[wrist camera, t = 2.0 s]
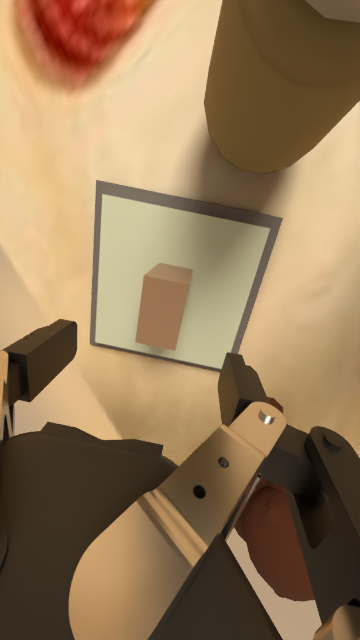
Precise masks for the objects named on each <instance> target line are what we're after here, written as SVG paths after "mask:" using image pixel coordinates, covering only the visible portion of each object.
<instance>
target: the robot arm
mask: <svg viewBox="0 0 360 640" xmlns="http://www.w3.org/2000/svg"><path fill="white" fill-rule="evenodd" d="M76 351H77V323H76V322H74V321H69V320H64V319H59V320H57V321H56V322H54V323H53V324H51V325H49V326H46V327H43V328H39V329H37V330H35V331H33V332H32V333H30V334H29V335H26V336H25V337H24V338H23V339H20V340H18V341H17V342H15V343H13V344H11V345H10V346H8V347H6V348H5V349H3V350H0V640H283V639H282V638H281V636H280V634H279V633H278V631H277V629H276V627H275V626H274V624H273V622H272V620H271V619H270V617H269V615H268V614H267V612H266V610H265V608H264V607H263V605H262V603H261V601H260V600H259V598H258V596H257V595H256V593H255V591H254V589H253V588H252V586H251V584H250V582H249V581H248V579H247V577H246V576H245V574H244V572H243V570H242V569H241V567H240V565H239V564H238V562H237V560H236V558H235V557H234V555H233V553H232V551H231V550H230V548H229V546H228V545H227V543H226V540H227V539H228V537H229V535H230V533H231V531H232V529H233V528H234V526H235V524H236V522H237V520H238V518H239V516H240V514H241V512H242V511H243V509H244V507H245V505H246V504H247V502H248V500H249V498H250V497H251V495H252V493H253V492H254V490H255V488H256V486H257V485H258V483H259V481H260V479H261V478H262V477H264V478H265V479H267V480H269V481H271V482H273V483H275V484H277V485H279V486H281V487H283V488H284V489H285V493H286V496H287V500H288V504H289V507H290V511H291V514H292V518H293V522H294V525H295V529H296V533H297V536H298V540H299V543H300V547H301V551H302V554H303V558H304V561H305V565H306V569H307V572H308V576H309V580H310V583H311V587H312V590H313V594H314V598H315V601H316V605H317V608H318V612H319V616H320V619H321V622H322V626H321V627H320V628H319V629H318V630H317V631H316V633H315V635H314V638H313V640H360V458H359V457H358V455H357V454H356V452H355V451H354V449H353V448H352V446H351V445H350V444H349V443H348V442H347V441H346V440H345V439H344V438H343V437H342V436H340V435H339V434H337V433H336V432H334V431H332V430H330V429H328V428H325V427H319V426H317V427H313V428H312V429H311V431H310V433H309V434H307V433H305V432H303V431H300V430H298V429H296V428H293V427H291V426H289V425H288V424H286V419H285V417H284V415H283V414H282V413H281V412H280V411H279V410H278V409H277V408H275V407H274V406H272V405H270V404H269V401H268V399H267V396H266V394H265V391H264V389H263V387H262V384H261V382H260V379H259V377H258V374H257V372H256V371H255V370H254V369H253V368H252V367H251V366H247V365H245V362H244V359H243V357H242V355H240V354H235V353H230V352H227V353H226V356H225V359H224V362H223V366H222V369H221V373H220V376H219V381H218V394H219V402H220V411H221V419H222V425H221V426H220V427H219V428H218V429H217V430H216V431H215V432H214V433H213V434H212V435H211V436H210V437H209V438H208V439H207V440H206V441H205V442H204V443H203V444H201V445H200V446H199V447H198V448H197V449H196V450H195V451H194V452H193V453H192V454H191V455H190V456H189V457H188V458H187V459H186V460H185V461H184V462H183V463H182V464H181V465H180V466H178V465H176V464H175V463H174V462H173V461H171V460H170V459H168V458H167V457H165V456H163V455H162V449H163V445H160V444H155V443H150V442H145V441H140V440H136V439H130V440H101V439H98V438H96V437H94V436H92V435H90V434H88V433H86V432H84V431H82V430H80V429H78V428H76V427H70V426H66V425H61V424H56V423H51V422H47V424H46V425H45V426H44V427H43V429H42V430H41V431H36V432H28V433H23V434H19V435H16V436H14V426H15V407H14V403H15V402H16V401H17V400H22V401H27V402H31V401H32V400H33V399H34V398H35V397H36V396H37V395H38V394H39V393H40V392H41V391H42V390H43V389H44V388H45V387H46V386H47V385H48V384H49V383H50V382H51V381H52V380H53V379H54V378H55V377H56V376H57V375H58V374H59V373H60V372H61V371H62V370H63V369H64V368H65V367H66V366H67V365H68V363H70V362H71V361H72V360H73V358H74V357H75V355H76Z"/></svg>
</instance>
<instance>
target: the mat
mask: <svg viewBox="0 0 360 640" xmlns="http://www.w3.org/2000/svg"><path fill="white" fill-rule="evenodd" d="M102 194H105V195H110V196H115V197H120V198H124V199H129V200H134V201H139V202H144V203H149V204H154V205H159V206H163V207H168V208H173V209H178V210H183V211H188V212H193V213H198V214H202V215H207V216H212V217H217V218H222V219H227V220H232V221H237V222H241V223H246V224H251V225H256V226H261V227H266V228H270V231H269V234H268V237H267V240H266V244H265V247H264V250H263V253H262V256H261V259H260V262H259V265H258V269H257V272H256V275H255V278H254V281H253V284H252V287H251V290H250V294H249V297H248V300H247V303H246V306H245V309H244V312H243V315H242V319H241V322H240V325H239V328H238V331H237V334H236V337H235V340H234V344H233V347H232V350H231V353H235V354H238V351H239V348H240V345H241V342H242V339H243V336H244V333H245V330H246V327H247V324H248V321H249V318H250V315H251V312H252V309H253V306H254V303H255V300H256V297H257V294H258V291H259V288H260V285H261V282H262V279H263V276H264V273H265V270H266V267H267V264H268V261H269V258H270V255H271V252H272V249H273V246H274V243H275V240H276V237H277V234H278V231H279V228H280V225H281V222H282V219H283V218H279V217H275V216H270V215H265V214H260V213H255V212H250V211H245V210H240V209H235V208H231V207H226V206H221V205H216V204H211V203H206V202H201V201H196V200H192V199H187V198H182V197H177V196H172V195H167V194H162V193H157V192H152V191H148V190H143V189H138V188H133V187H128V186H123V185H118V184H113V183H108V182H104V181H99V180H96V200H95V226H94V251H93V276H92V302H91V327H90V344H92V345H97V346H102V347H107V348H111V349H116V350H121V351H125V352H130V353H135V354H139V355H144V356H149V357H154V358H158V359H163V360H168V361H172V362H177V363H182V364H186V365H191V366H196V367H201V368H205V369H210V370H215V371H219V372H221V369H219V368H214V367H209V366H205V365H200V364H195V363H191V362H186V361H181V360H177V359H172V358H167V357H162V356H158V355H153V354H148V353H144V352H139V351H134V350H130V349H125V348H120V347H115V346H111V345H106V344H101V343H97V342H95V333H96V313H97V293H98V273H99V253H100V232H101V212H102Z"/></svg>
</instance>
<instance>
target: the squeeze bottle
mask: <svg viewBox="0 0 360 640" xmlns="http://www.w3.org/2000/svg"><path fill="white" fill-rule="evenodd" d="M359 101H360V0H223V1H222V6H221V11H220V16H219V21H218V26H217V31H216V36H215V41H214V46H213V51H212V56H211V61H210V66H209V72H208V79H207V86H206V92H205V99H204V106H205V112H206V119H207V125H208V131H209V134H210V136H211V138H212V139H213V141H214V143H215V145H216V146H217V148H218V150H219V152H220V153H221V155H222V156H223V157H224V158H225V159H227V160H228V161H230V162H231V163H232V164H234V165H235V166H237V167H238V168H239V169H241V170H244V171H250V172H257V173H263V174H266V173H269V172H273V171H276V170H280V169H283V168H286V167H290V166H291V165H292V164H294V163H295V162H296V161H298V160H299V159H300V158H301V157H303V156H304V155H305V154H307V153H308V152H309V151H311V150H312V149H313V148H314V147H315V146H316V145H317V144H318V143H319V142H320V141H321V140H322V139H323V138H324V137H325V136H326V135H327V134H328V133H329V132H330V131H331V130H332V129H333V127H334V126H335V125H336V124H337V123H338V122H339V121H340V120H341V119H342V118H343V117H344V116H345V115H346V114H347V113H348V112H349V111H350V110H351V109H352V108H353V107H354V106H355V105H356V104H357V103H358V102H359Z"/></svg>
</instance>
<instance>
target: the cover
mask: <svg viewBox="0 0 360 640" xmlns="http://www.w3.org/2000/svg"><path fill="white" fill-rule="evenodd" d="M269 231H270V228H266V227H261V226H256V225H251V224H246V223H241V222H237V221H232V220H227V219H222V218H217V217H212V216H207V215H202V214H198V213H193V212H188V211H183V210H178V209H173V208H168V207H163V206H159V205H154V204H149V203H144V202H139V201H134V200H129V199H124V198H120V197H115V196H110V195H105V194H102V212H101V232H100V253H99V273H98V293H97V313H96V333H95V342H97V343H101V344H106V345H111V346H115V347H120V348H125V349H130V350H134V351H139V352H144V353H148V354H153V355H158V356H162V357H167V358H172V359H177V360H181V361H186V362H191V363H195V364H200V365H205V366H209V367H214V368H219V369H222V366H223V362H224V359H225V356H226V353H227V352H230V353H231V350H232V347H233V344H234V340H235V337H236V334H237V331H238V328H239V325H240V322H241V319H242V315H243V312H244V309H245V306H246V303H247V300H248V297H249V294H250V290H251V287H252V284H253V281H254V278H255V275H256V272H257V269H258V265H259V262H260V259H261V256H262V253H263V250H264V247H265V244H266V240H267V237H268V234H269Z"/></svg>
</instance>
